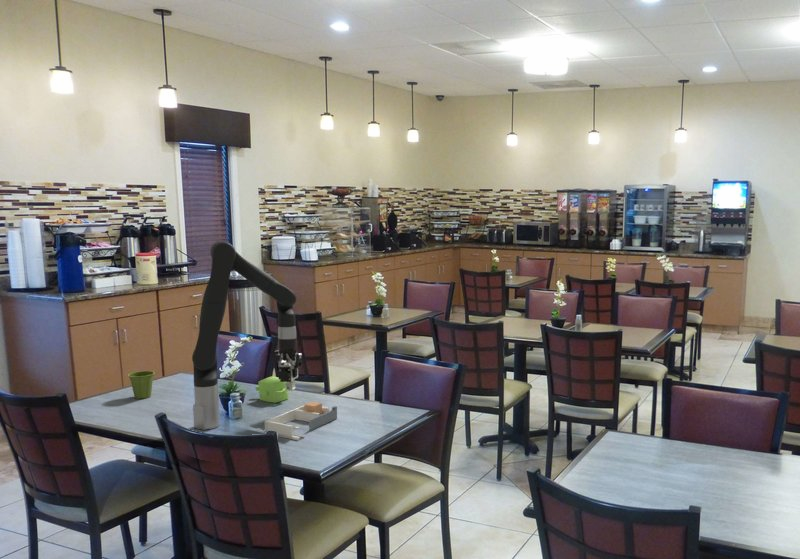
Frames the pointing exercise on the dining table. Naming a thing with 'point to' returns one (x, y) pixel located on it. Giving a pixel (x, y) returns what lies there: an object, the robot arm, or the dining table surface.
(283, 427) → the tray
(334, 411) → the grey flat board
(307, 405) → the block
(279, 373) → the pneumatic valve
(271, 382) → the lime green lidded box
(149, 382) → the plant pot
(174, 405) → the dining table surface
